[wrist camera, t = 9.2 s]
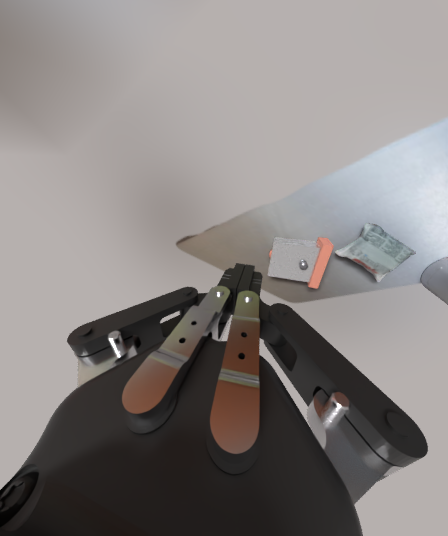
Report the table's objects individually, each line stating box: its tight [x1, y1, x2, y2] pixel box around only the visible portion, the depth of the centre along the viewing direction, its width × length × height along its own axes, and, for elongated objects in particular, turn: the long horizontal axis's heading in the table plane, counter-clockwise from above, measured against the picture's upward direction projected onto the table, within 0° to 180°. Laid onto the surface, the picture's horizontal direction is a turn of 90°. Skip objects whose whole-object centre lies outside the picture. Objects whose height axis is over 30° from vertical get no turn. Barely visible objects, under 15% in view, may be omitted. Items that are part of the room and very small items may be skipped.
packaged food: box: [335, 223, 416, 282], centre depth 36 cm, size 9×12×5 cm
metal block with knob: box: [268, 237, 321, 282], centre depth 41 cm, size 10×9×6 cm
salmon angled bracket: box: [269, 237, 333, 289], centre depth 41 cm, size 12×11×5 cm
